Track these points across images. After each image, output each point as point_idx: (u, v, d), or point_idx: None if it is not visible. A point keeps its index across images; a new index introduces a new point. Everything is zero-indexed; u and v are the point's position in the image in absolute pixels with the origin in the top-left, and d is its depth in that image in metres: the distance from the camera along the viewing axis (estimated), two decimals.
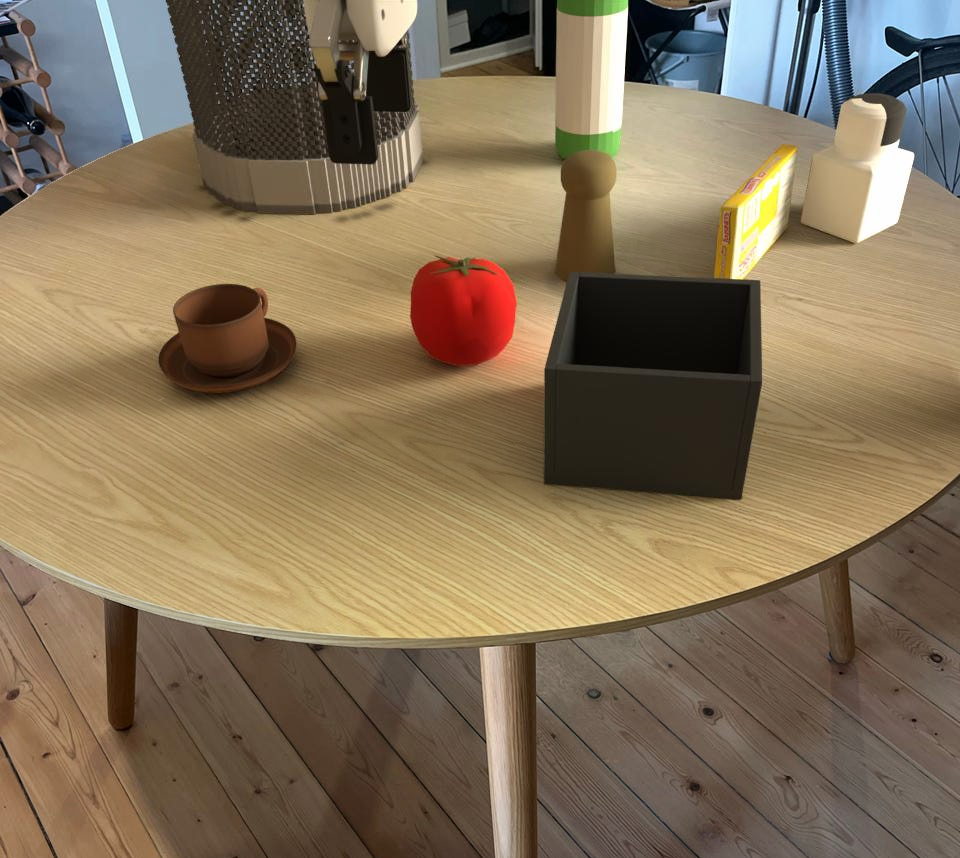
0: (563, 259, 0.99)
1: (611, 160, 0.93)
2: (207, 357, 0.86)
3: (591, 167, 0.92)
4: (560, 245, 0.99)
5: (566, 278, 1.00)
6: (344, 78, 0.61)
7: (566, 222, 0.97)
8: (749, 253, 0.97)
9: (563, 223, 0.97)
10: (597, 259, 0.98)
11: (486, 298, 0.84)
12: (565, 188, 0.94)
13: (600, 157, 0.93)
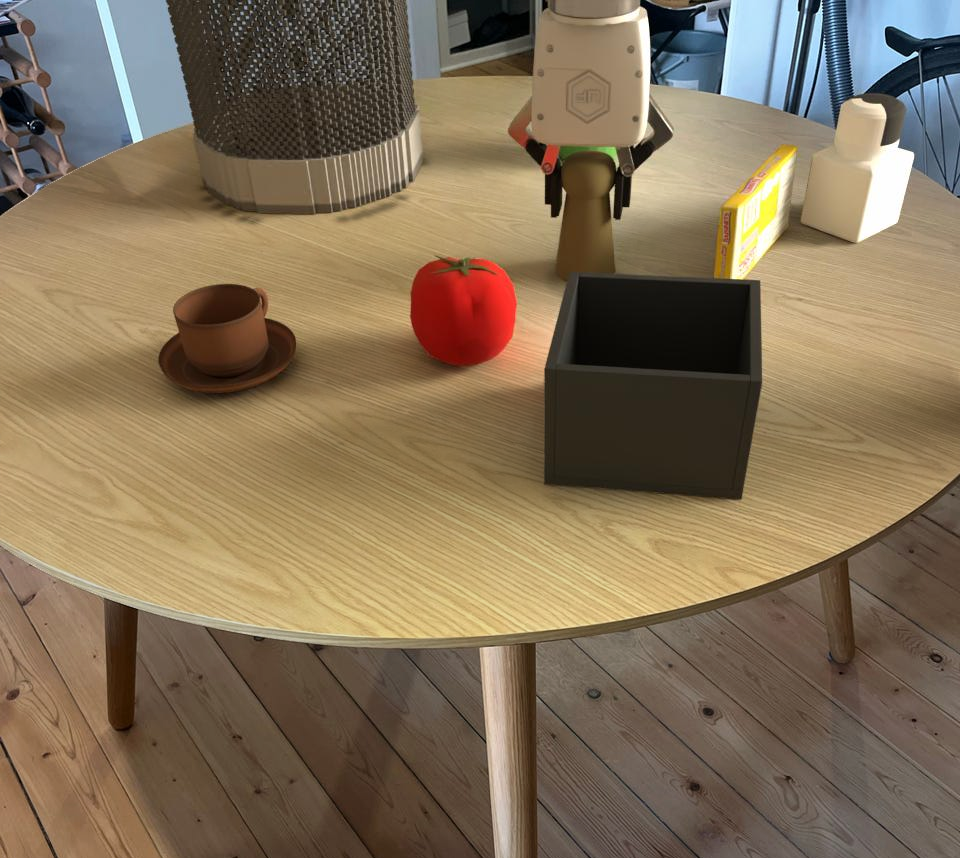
0: (563, 259, 0.99)
1: (611, 160, 0.93)
2: (207, 357, 0.86)
3: (591, 167, 0.92)
4: (560, 245, 0.99)
5: (566, 278, 1.00)
6: (527, 151, 0.93)
7: (566, 222, 0.97)
8: (749, 254, 0.97)
9: (563, 223, 0.97)
10: (597, 259, 0.98)
11: (486, 298, 0.84)
12: (565, 188, 0.94)
13: (600, 157, 0.93)
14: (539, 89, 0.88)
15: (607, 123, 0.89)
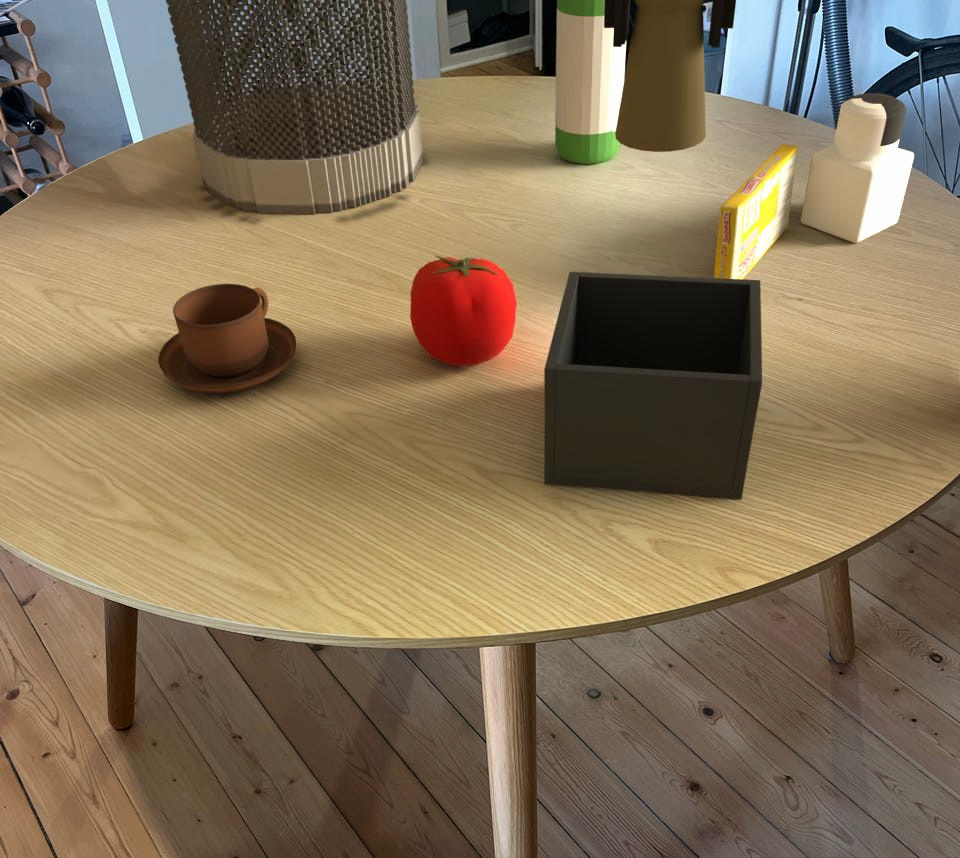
0: (629, 115, 0.66)
1: None
2: (207, 357, 0.86)
3: None
4: (625, 93, 0.66)
5: (633, 144, 0.67)
6: None
7: (636, 54, 0.64)
8: (749, 253, 0.97)
9: (631, 57, 0.65)
10: (682, 111, 0.65)
11: (486, 298, 0.84)
12: None
13: None
14: None
15: None
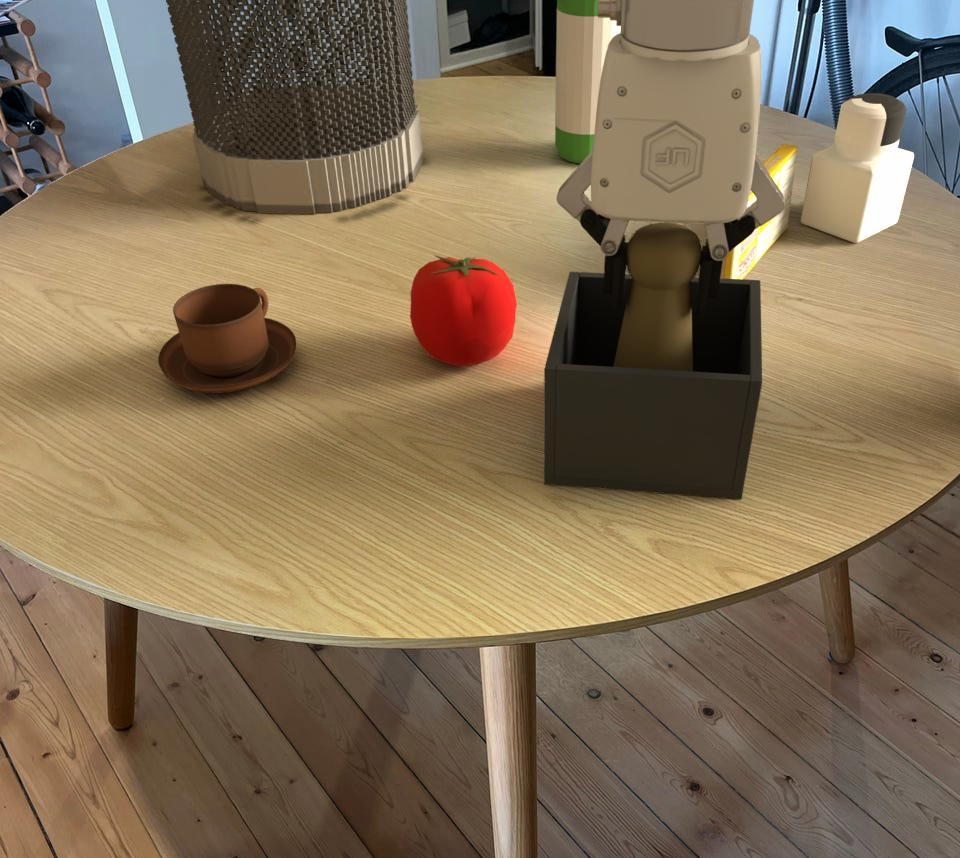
0: (625, 363, 0.75)
1: (696, 238, 0.69)
2: (207, 357, 0.86)
3: (670, 248, 0.68)
4: (622, 345, 0.74)
5: None
6: (583, 225, 0.69)
7: (632, 317, 0.72)
8: (749, 253, 0.97)
9: (627, 317, 0.73)
10: (672, 364, 0.73)
11: (486, 298, 0.84)
12: (632, 274, 0.70)
13: (682, 235, 0.69)
14: (604, 146, 0.63)
15: (697, 193, 0.64)
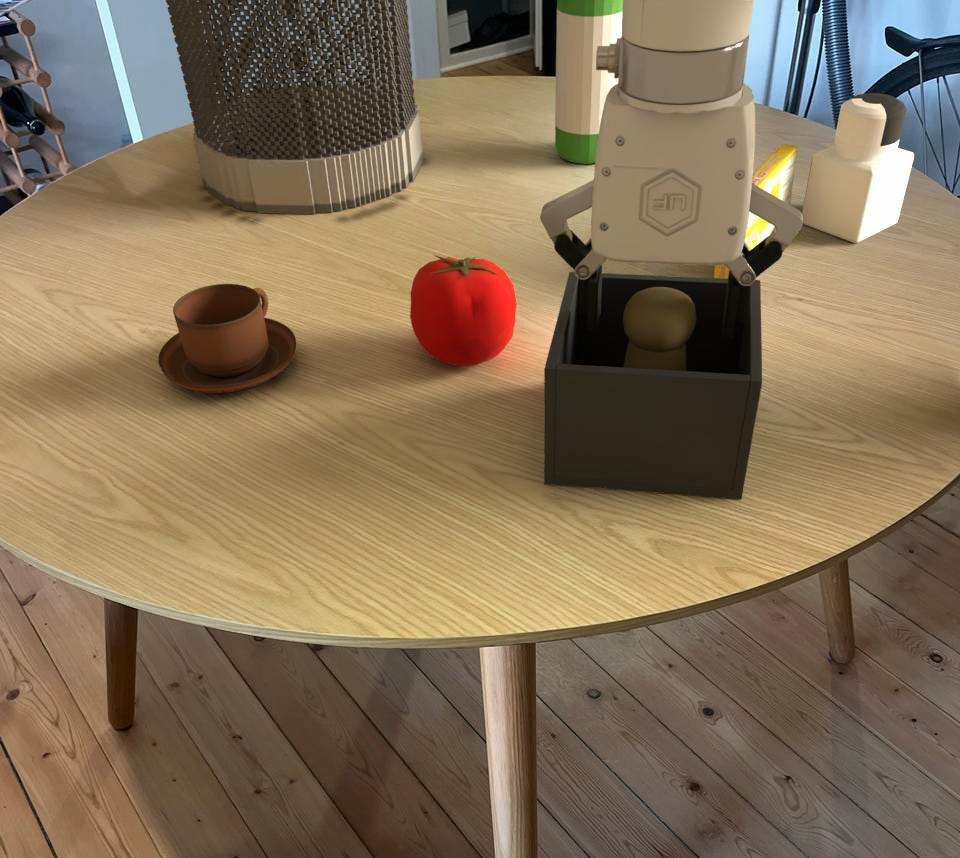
0: None
1: (690, 303, 0.72)
2: (207, 357, 0.86)
3: (665, 314, 0.71)
4: None
5: None
6: (557, 250, 0.71)
7: None
8: None
9: None
10: None
11: (486, 298, 0.84)
12: (630, 337, 0.73)
13: (677, 300, 0.72)
14: (603, 192, 0.65)
15: (694, 236, 0.66)
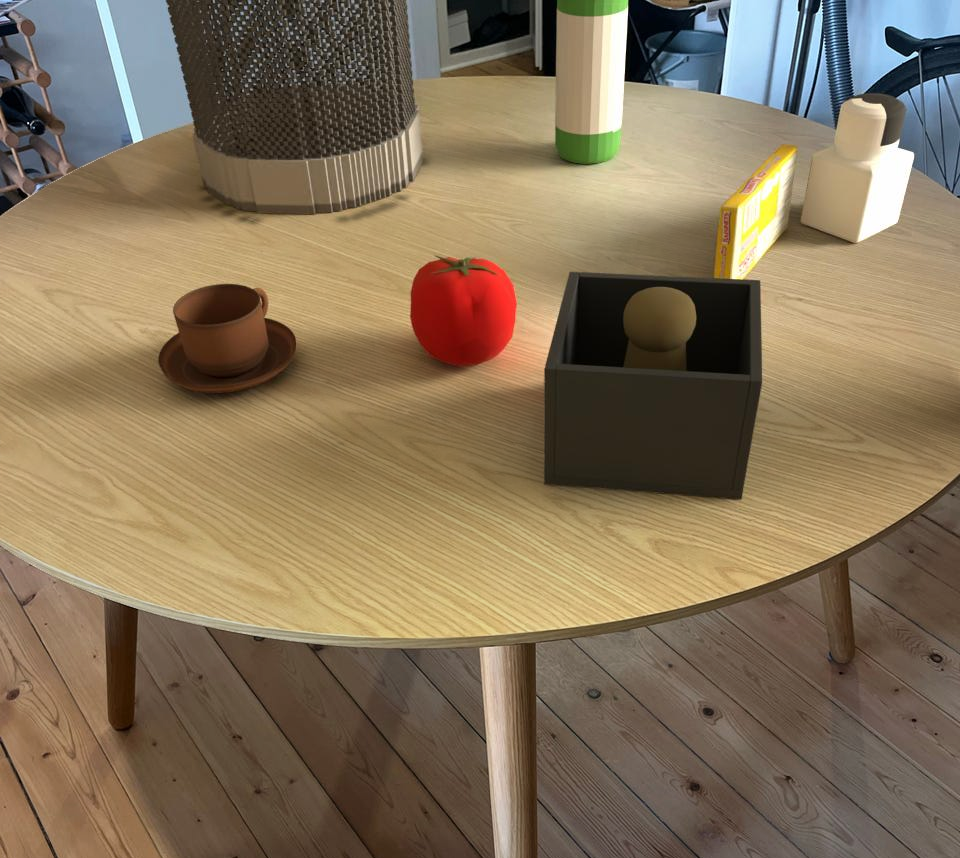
0: None
1: (690, 303, 0.72)
2: (207, 357, 0.86)
3: (665, 314, 0.71)
4: None
5: None
6: None
7: None
8: (749, 253, 0.97)
9: None
10: None
11: (486, 298, 0.84)
12: (630, 337, 0.73)
13: (677, 300, 0.72)
14: None
15: None
